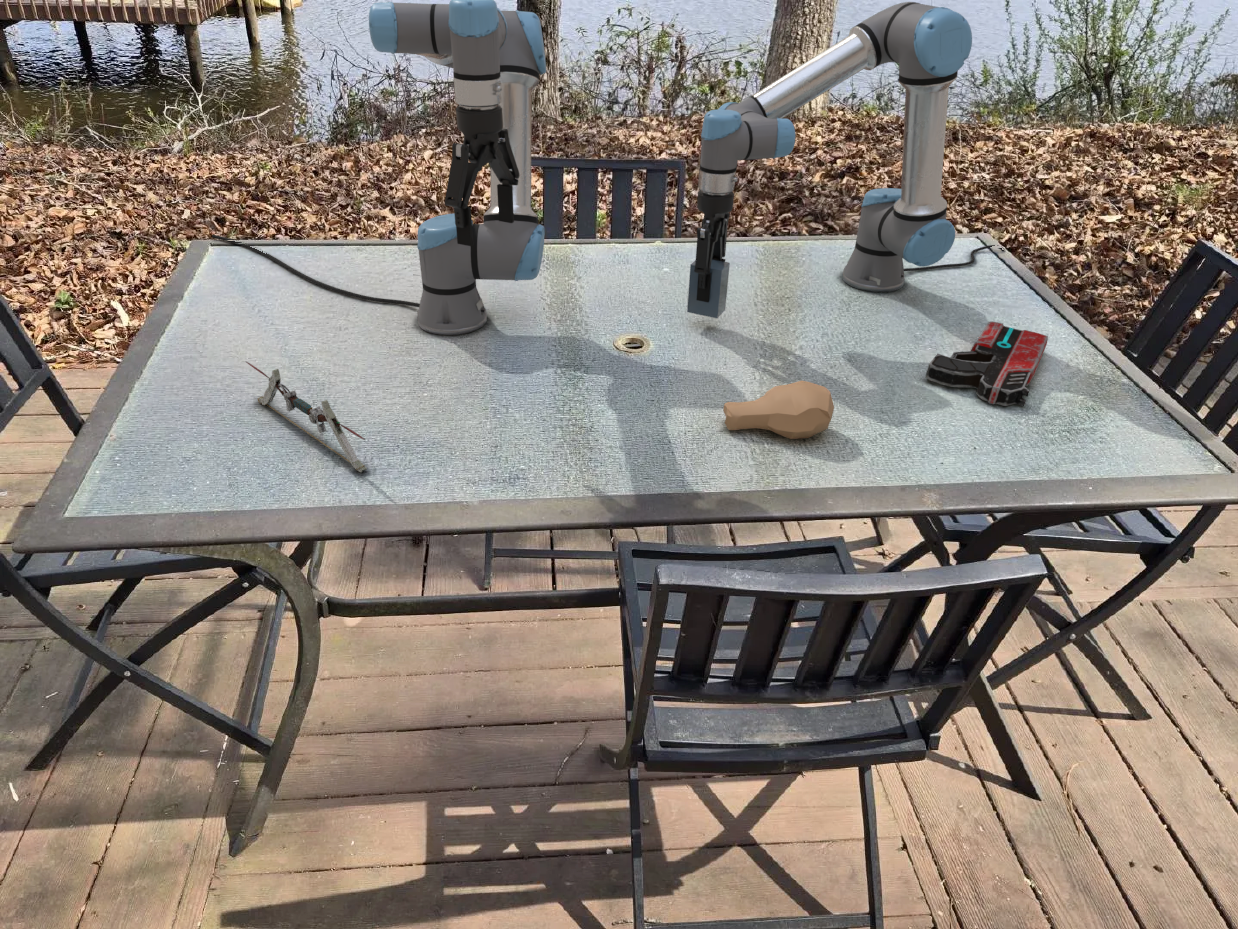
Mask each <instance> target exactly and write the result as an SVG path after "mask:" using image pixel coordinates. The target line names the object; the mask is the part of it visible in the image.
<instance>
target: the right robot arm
mask: <svg viewBox="0 0 1238 929" xmlns="http://www.w3.org/2000/svg"><path fill="white" fill-rule="evenodd" d="M972 47H973V33H972V28H971V25H970V24H969V21H968V20H967V18H965V17H964V16H963V14H961V13H960V12H957V11H955V10H952V9H950V8H949V7H945V6H944V7H943V6H934V5H929V4H925V3H921V2H916V1H905V2H904V1H903V2H900V3H897V4H893V5H891V6H889V7H886V8H884V9H882V10H880V11H878V12H877V13H875V14H873V15H871V16H869V17H868V18H866V19H863V20H862V21H861V22H859V23H858V24H856V25H854V26H853V27H852V28H850V30H849V32H848V35H847V36H846V37H844V38H842V39H841V40H839V41H838V42H836V43H835V44H833V45H831V46H830V47H828V48H826V49H825V50H823V51H822V52H820V53H818V54H817V55H815V56H813V57H812V58H810V59H809V60H807V61H805V62H803V63H802V64H800V65H799V66H798V67H795V68H794V69H792V70H791V71H789V72H788V73H785V75H783V76H781V77H779V78H778V79H776V80H774V81H773V82H771V83H769V84H768V85H766V86H765V87H763V88H762V89H759V90H758V91H756V92H755V93H753V94H751V95H750V96H749V97H747V98H745V99H743V100H742V101H740V102H737V101H734V102H733V101H729V102H725V103H723V104H722V105H721V106H719V108H718V109H712V110H709V111H707V112H706V113H705V115H704V116H703V120H702V126H701V127H702V128H701V133H700V136H701V144H700V163H699V169H698V182H697V188H698V189H699V190H698V191H697V199H696V207H697V209H698V211H700V212H702V213H703V218H702V220H701V227H697V229H696V236H697V237H696V248H695V249H696V250H695V260H696V261H695V260H694V261H695V269H694V272H695V273H698V286H697V299H696V300H698V301H703V302H709V298H710V286H711V274H712V273H710V268H711V262H712V260H718V261H723V262H726V258H725V257H726V251H727V250H726V248H727V238H728V236H727V235H728V227H729V219H730V213H731V212H732V211H733V209H734V201H735V193H734V192H733V191H734V190H735V187H736V182H738V180H739V179H738V176H736V174H737V169H738V161H748V160H764V159H766V160H767V159H773V160H774V159H777V158H784V157H787V156H789V155H790V154H791V153H792V152H793V150H794V147H795V145H796V128H795V125H794V123H793V122H792V120H790V119H789V118H786V117H787V116H789V115H790V114H792V113H794V112H796V111H798V109H800V108H802V107H803V106H805V105H807V104H808V103H810V102H812V101H813V100H815V99H817V98H818V97H820V96H822V95H823V94H825V93H827V92H828V91H830V90H831V89H833V88H835V87H837V86H838V85H841V83H843V82H845V81H846V80H847V79H850V78H851V77H853V76H854V75H856V74H858V73H859V72H861V71H863V70H865V71H872V70H874V69H875V68H877V67H878V66H881V65H884V64H888V63H895V64H898V83H899V84H900V85H901V86H902V87H903V88H904V90H905V100H904V119H903V141H902V162H901V183H900V184H901V185H900V186H901V187H900V188H895V187H894V188H893V187H880V188H873V189H869V190H868V191H867V192H866V193H865V194H864V197H863V199H862V203H861V205H860V207H861V210H860V215H859V216H860V217H859V220H858V221H859V222H858V226H857V233H856V239H855V245H854V248H853V252H852V253H851V255H850V256H849V259H848V261H847V263H846V265H845V266H844V268H843V271H842V275H841V279H842V281H843V282H844V283H845V284H847V285H848V286H851V287H852V288H854V289H858V290H861V291H865V292H874V293H889V292H896V291H898V290H900V289H902V288H903V286H904V283H905V276H906V275H905V272H916V271H927V270H935V269H943V268H954V267H965V266H969V265H971V264H973V263H974V262H975V253H976V252H980V251H984V250H986V249H991V248H990V247H992V246H995V245H997V246H999V245H998V244H989V245H985V246H981V247H978V248H975V249H973V250H972V251H971V252H970V258H971V260H969V261H967V262H960V263H948V264H939V265H935V264H936V263H938V262H939V261H941V260H942V259H943V258H944V257H945V255H947V254H948V253H949V252H950V250H951V249H952V247H953V244H954V243H955V239H956V228H955V226H954V225H953V223H952V222H951V221H950V220H948V219H947V213H948V212H947V210H948V202H947V200H946V199H945V198H944V197H943V196H942V182H943V171H944V170H943V168H944V156H945V144H946V143H945V142H946V130H947V129H946V128H947V118H948V102H949V88H950V86H951V84H953V83H954V82H955V81H957V79H958V71H960V69H961V68H963V66H964V65H965V61H966V60H968V58H969V56H970V54H971V51H972ZM1002 248H1003V249H1004V250H1005V248H1004V247H1002ZM1002 248H998V249H999V250H1000V251H1001V252H1004V251H1003V250H1002ZM904 261H906V262H907V263H910V264H912V265H915V266H917V267H910V268H904Z"/></svg>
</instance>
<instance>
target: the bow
mask: <svg viewBox="0 0 1238 929" xmlns="http://www.w3.org/2000/svg"><path fill="white" fill-rule="evenodd" d="M244 362H245V363H246V364H248V365H249V366H250V367H252V368H253V369H254V370H256V371H257V372H258V373H259V374H262V375H263V376H265V377H266V378H267V379H268V387H267V388H266V389H265V391H264V392H263V396H260V397H258V398H257V399H256V400H257V402H258V403H259V404H260V405H262V406H267V407H269V408H270V409H271V410H273V411H275V412H276V413H277V414H279V415H280V416H282V417H283V418H285V419H286V420H287V421H289V422H290V423H291V424H293V425H295V426H296V427H298V429H300V430H302V431H303V432H305V433H307V434H308V435H309V436H311V437H312V438H314V439H315V440H316V441H318V442H319V443H321V444H322V445H323V446H325V447H326V448H328V449H330V450H331V451H332V452H333V453H335V454H337V455H338V456H339V457H341V458H343V459H344V460H345V461H347V462H348V463H350V464H351V466H352V467H353V468H354V469H355V471H357V472H359V473H362V472H363V471H367V469H368V468H367V467H366V465H365V464H364V463H362V461H361V460H360V459H359V458H358V455H357V454H356V452H355V450H354V449H353V447H352V445H351V443H350V442H349V439H348V437H347V436H346V435H345V432H344V430H343V429H345V430H347V431H348V432H350V433H351V434H352V435H355V436H356V437H358V438H360V439H362V440H363V441H364V440H366V438H365V437H363V436H362V435H360V434H359V433H357V432H356V431H354V430H352V429H351V428H349V427H347V426H346V425H343V424H341V422H340V421H339V420H338V418H337V416H336V414H335V413H334V411H333V409H332V407H331V404H330V402H329V400H328V399H325V400H322V401H321V406H319V405H318V406H317V407H314V408H313V406H312V405H311V404H309V403H308V402H306V401H305V400H304V399H302V398H299V396H297V391H296V390H290V389H289V388H288V387H287V386H286V385H285V384H282V383H281V380H282V379H281V373H280V370H279V368H275V369H274V370H272V372H271V376H270V377H269V376H268V375H267V374H266V373H265V372H264V371H262V370H260V369H259V368H258V367H256V366H255V365H253V364H251V363H250V362H249V361H247V360H244ZM278 391H279V393H280V394H281V395H282V396H283V399H284V401H285V403H286V404H285V407H286V411H287V412H288V413H290V412H291V411H295V410H296V409H297V410H299V411H300V412H302V413H303V414H305V415H307V416H308V419H309V421H310V423H311V424H313V425H316V428H317V432H318V433H319V434H323V433H325V432H327V429H326V428H327V427H326V424H325V423H328V425H329V426H330V428H331V430H332V432H333V434H334V436H335V439H336V440H337V442H338V444H339V446H340V447H341V449H342V451H343V453H344V455H345V456H346V457H345V456H343V455H342V454H340V453H339V452H337V451H336V450H335V449H333V448H332V447H331V446H329V445H327V444H326V443H325V442H323V441H322V440H320V439H319V438H317V437H316V436H314V435H312V434H311V433H310V432H308V431H307V430H305V428H303V427H301V426H300V425H298V424H297V423H295V422H294V421H293V420H291V419H290V418H288V417H287V416H286V415H285V414H284V415H283V414H282V413H281V412H279V410H276V408H273V407H272V406H271V405H269V404H271V403H272V402H273V401H274V398H275V397H276V394H277V392H278Z"/></svg>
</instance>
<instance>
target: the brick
mask: <svg viewBox="0 0 1238 929" xmlns="http://www.w3.org/2000/svg"><path fill="white" fill-rule="evenodd" d="M695 261H696V259H695V260H694V261H693V262H691V264H690V266H689V278H688V279H689V281H688V295H687V306H686V307H687V310H686V312H687V313H690V314H695V315H699V316H704V317H710V318H713V319H719V318H720V316H721V315H722V314H723V313H724V312H725V311H726V307H727V296H728V295H727V294H728V288H729V287H728V286H729V276H730V265H731V262H728V261H725V262H723V261H718V260H712V262H711V268H710V273H712V274H711V286H710V298H709V302H703V301H698V300H696V299H697V286H698V273H695V272H694V269H695Z"/></svg>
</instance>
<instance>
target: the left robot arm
mask: <svg viewBox="0 0 1238 929" xmlns="http://www.w3.org/2000/svg"><path fill="white" fill-rule="evenodd" d="M369 8H370V9H369V12H368V29H369V36H370V41H371V44H372V46H373V48H374V49H375V51H377V52H379V53H388V54H392V55H394V54H407V55H409V54H410V55H417V56H420V57H421V56H423V57H425V58H426V59H427V60H428V61H430V62H431V63H433V64H435V65H439V66H443V67H447V68H449V69H453V91H454V92H453V94H454V103H456V104H457V106H456V108H455V116H456V128H457V130H458V131H459V132H461V133H462V135H463V142H462V143H457V142H453V143H452V145H451V163H450V169H449V174H448V178H447V179H448V180H447V185H446V192H445V197H444V205H445V206H447V207H452V208H453V213H447V214H441V215H437V216H433V217H431V218H428V219H427V220H424V221H423V222H422V223H421V224H420V225H419V226H418V229H417V247H416V248H417V250H418V258H419V259H418V260H419V267H420V275H421V276H420V278H421V284H422V292H421V297H420V302H419V303H418V302H413V301H408V300H401V299H392V298H391V299H390V298H383V297H382V298H381V297H374V296H369V295H363V294H359V293H355V292H352V291H349V290H345V289H342V288H339V287H335V286H332V285H329V284H327V283H325V282H322V281H319V280H317V279H315V278H313V277H310V276H309V275H306V274H304V273H303V272H301V271H299V270H297V269H295V268H293V267H292V266H290V265H288V264H287V263H285V262H284V261H282V260H280V259H278V258H277V257H275V256H274V255H272V254H270V253H268V252H266V254H265V253H263V251H264V250H262V252H261V251H259V250H257V249H255V248H256V247H255V248H252V247H250V246H247V245H245V244H246V243H245V244H240V245H239V246H242V247H244V248H247V249H249V250H251V251H254V252H256V253H258V254H260V255H262V256H264V257H266V258H268V259H270V260H272V261H273V262H275V263H276V264H278V265H279V266H282V267H283V268H285V269H286V270H289V271H290V272H292V273H293V274H295V275H297V276H298V277H300V278H302V279H304V280H306V281H308V282H310V283H313V284H314V285H317V286H319V287H321V288H324V289H327V290H329V291H332V292H336V293H339V294H341V295H346V296H349V297H352V298H357V299H359V300H360V299H361V300H364V301H370V302H376V303H385V304H394V305H396V304H397V305H403V306H409V307H414V308H418V310H417V317H416V318H417V325H418V326H419V328H420V329H421V330H423V331H424V332H427V333H430V334H433V335H440V336H459V335H465V334H469V333H473V332H476V331H477V330H480V329H481V328H483V327H484V326H485V325H486V323H487V320H488V316H487V310H486V306H485V304H484V302H483V299H482V298H481V295H480V293H479V291H478V288H477V280H483V281H484V280H489V281H490V280H491V281H493V280H494V281H514V282H518V281H533V280H535V279H536V278H537V277H538V276H539V273H540V271H541V266H542V260H543V256H544V255H543V254H544V248H545V234H546V228H545V226H544V225H542V224H539V215H537V214H536V212H535V211H534V210H533V208H532V114H533V112H532V110H533V109H532V106H533V104H532V103H533V102H532V100H533V98H532V97H533V96H532V95H533V94H532V93H533V90H535V88H536V87H537V86H539V85H540V76H543V75H544V74H546V73H547V63H546V53H545V45H544V38H543V36H544V35H543V31H542V22H541V20H540V17H539V15H537V14H536V13H535V12H533V11H523V10H518V9H515V10H501V9H500V8H499V7H498V5H497V2H496V1H495V0H450V1H449V3H416V2H415V3H414V2H393V1H388V2H375V3H374V2H373V4H371V6H370V7H369ZM487 164H488V165H489V168H490V207H489V208H488V209H487V210H486V211H485V213H483V218H482V220H483V223H474V221H473V219H472V207H471V206H468V205H469V203H470V198H471V196H472V193H473V189H474V186H475V183H476V180H477V177H478V174H479V172H481V171H482V170H483V167H485V166H486V165H487ZM211 238H212V239H215V240H220V241H224V240H234V239H232V238H229V237H225V236H221V235H217V234H211ZM227 242H228V243H231V244H235V243H242V241H240V242H235V241H227ZM267 253H268V254H267Z"/></svg>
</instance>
